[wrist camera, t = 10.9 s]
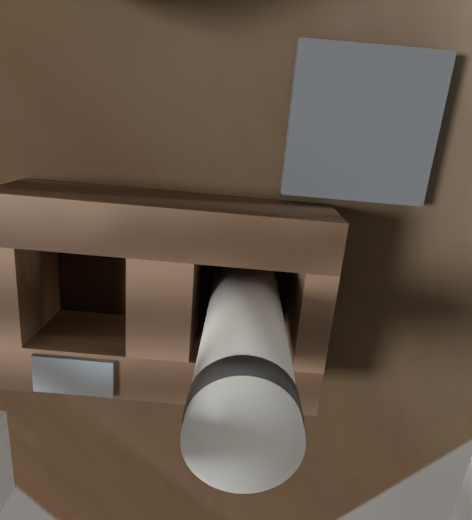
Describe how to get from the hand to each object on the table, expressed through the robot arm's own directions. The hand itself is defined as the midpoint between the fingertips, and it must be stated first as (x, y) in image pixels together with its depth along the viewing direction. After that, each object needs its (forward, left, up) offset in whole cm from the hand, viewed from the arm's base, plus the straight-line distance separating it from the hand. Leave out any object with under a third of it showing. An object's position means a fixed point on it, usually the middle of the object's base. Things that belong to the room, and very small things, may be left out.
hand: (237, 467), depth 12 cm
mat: (-10, +6, -15) cm, 19 cm away
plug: (0, 0, -15) cm, 15 cm away
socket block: (0, -4, -15) cm, 16 cm away
